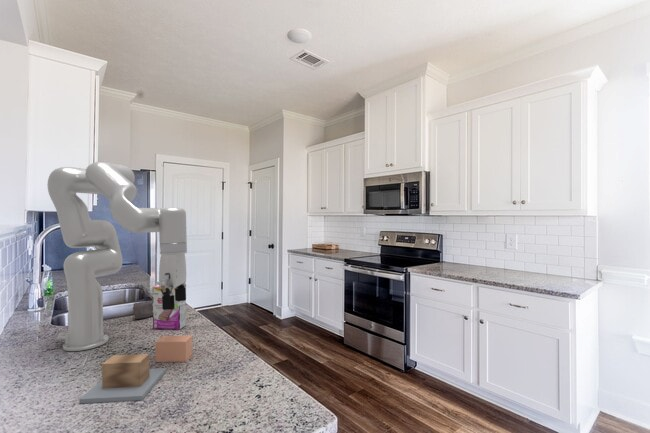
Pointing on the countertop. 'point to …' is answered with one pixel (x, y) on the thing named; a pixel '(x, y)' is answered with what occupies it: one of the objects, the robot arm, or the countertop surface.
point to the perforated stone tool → (143, 309)
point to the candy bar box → (168, 312)
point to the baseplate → (123, 390)
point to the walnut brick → (125, 371)
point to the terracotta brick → (173, 348)
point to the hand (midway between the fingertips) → (174, 304)
